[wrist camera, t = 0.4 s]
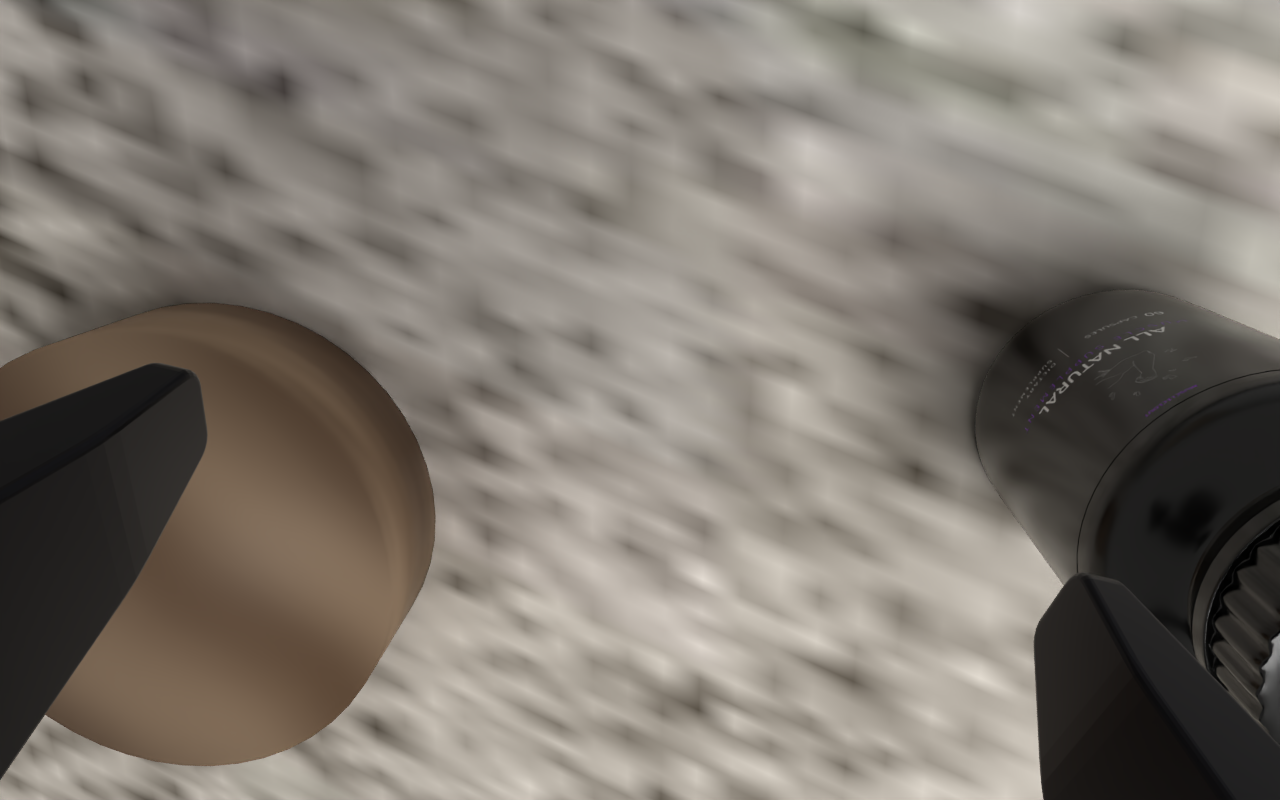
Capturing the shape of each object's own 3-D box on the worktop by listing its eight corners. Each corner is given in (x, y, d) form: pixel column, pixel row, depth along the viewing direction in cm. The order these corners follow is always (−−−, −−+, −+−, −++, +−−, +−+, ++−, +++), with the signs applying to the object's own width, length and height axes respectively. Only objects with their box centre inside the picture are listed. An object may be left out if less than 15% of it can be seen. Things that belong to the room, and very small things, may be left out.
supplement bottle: (1020, 254, 23) (1326, 386, 12) (1279, 322, 23) (1834, 518, 12) (929, 495, 25) (1114, 805, 14) (1167, 556, 25) (1546, 916, 14)
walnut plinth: (260, 745, 29) (193, 839, 26) (-40, 485, 27) (-161, 545, 23) (519, 521, 26) (488, 589, 23) (204, 211, 24) (111, 228, 20)
